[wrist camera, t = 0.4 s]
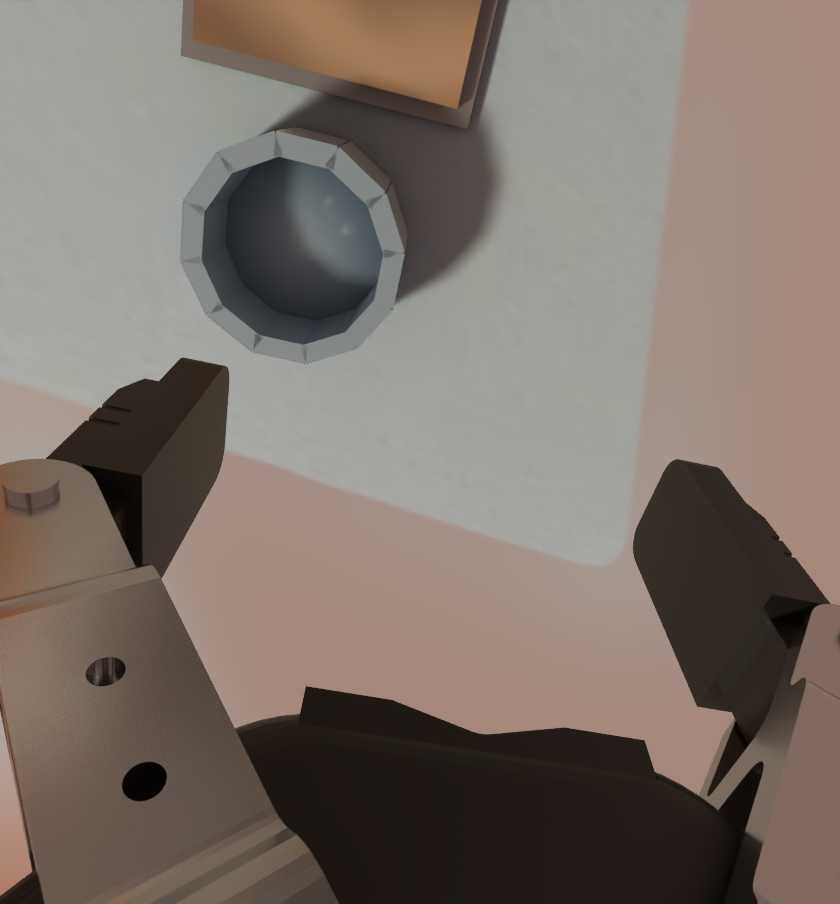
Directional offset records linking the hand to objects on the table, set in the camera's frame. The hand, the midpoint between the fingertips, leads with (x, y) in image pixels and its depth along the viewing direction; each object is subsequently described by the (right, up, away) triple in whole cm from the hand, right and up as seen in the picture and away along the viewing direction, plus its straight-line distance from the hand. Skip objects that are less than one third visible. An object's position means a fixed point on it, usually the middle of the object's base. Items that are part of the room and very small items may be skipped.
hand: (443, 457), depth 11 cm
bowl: (-6, +12, +23) cm, 27 cm away
